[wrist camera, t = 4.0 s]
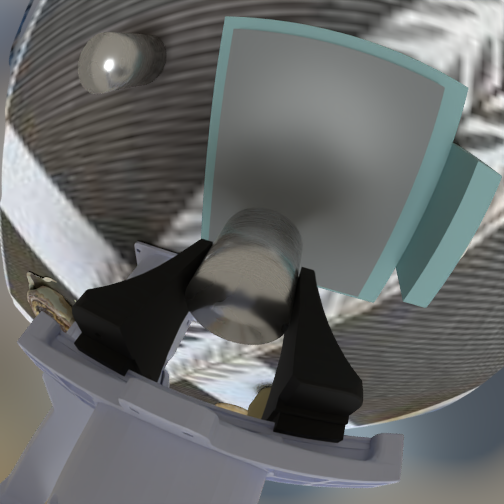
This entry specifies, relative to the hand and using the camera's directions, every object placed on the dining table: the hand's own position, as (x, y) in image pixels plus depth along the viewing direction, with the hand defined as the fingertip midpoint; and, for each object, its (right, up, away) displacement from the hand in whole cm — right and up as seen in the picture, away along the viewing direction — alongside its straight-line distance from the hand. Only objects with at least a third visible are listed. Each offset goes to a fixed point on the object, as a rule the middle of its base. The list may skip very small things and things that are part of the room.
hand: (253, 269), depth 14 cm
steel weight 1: (-9, +16, +2) cm, 18 cm away
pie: (-42, -14, +36) cm, 57 cm away
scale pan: (+4, +6, +2) cm, 7 cm away
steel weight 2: (0, +1, +1) cm, 2 cm away
